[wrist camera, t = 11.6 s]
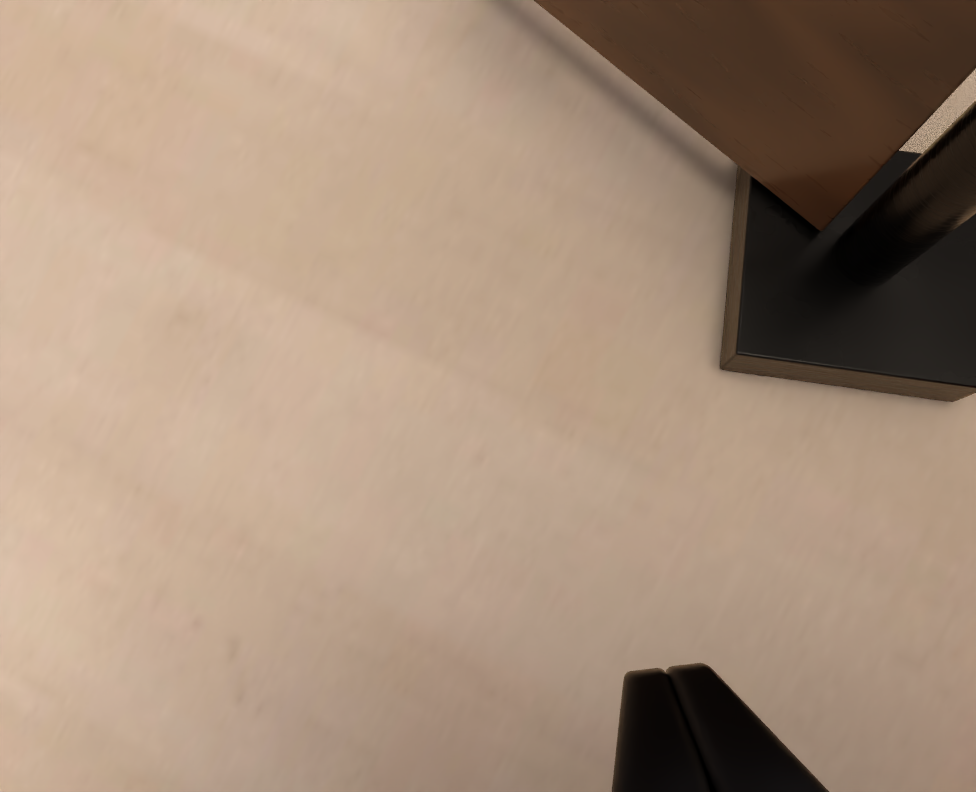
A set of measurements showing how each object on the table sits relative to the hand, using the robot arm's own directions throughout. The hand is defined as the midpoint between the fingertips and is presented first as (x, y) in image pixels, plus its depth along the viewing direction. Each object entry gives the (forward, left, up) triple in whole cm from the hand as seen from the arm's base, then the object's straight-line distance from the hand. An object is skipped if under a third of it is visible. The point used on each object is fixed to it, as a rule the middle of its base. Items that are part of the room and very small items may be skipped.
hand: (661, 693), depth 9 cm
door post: (+12, 0, -12) cm, 17 cm away
